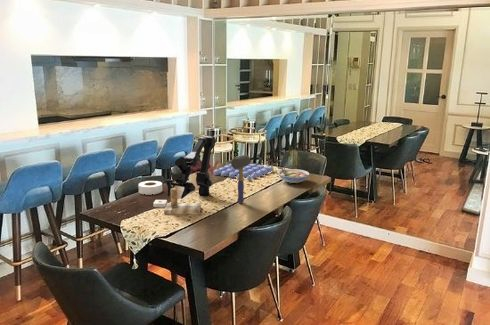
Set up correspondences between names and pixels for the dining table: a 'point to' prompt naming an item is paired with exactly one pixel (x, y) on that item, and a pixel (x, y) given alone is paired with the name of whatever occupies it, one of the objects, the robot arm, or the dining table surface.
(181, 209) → the beige flat rectangular piece
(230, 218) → the dining table surface
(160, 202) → the awl holder
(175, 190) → the awl
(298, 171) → the ramen bowl
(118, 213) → the dining table surface
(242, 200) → the rubber mallet
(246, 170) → the purple egg tray
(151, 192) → the roll of tape
